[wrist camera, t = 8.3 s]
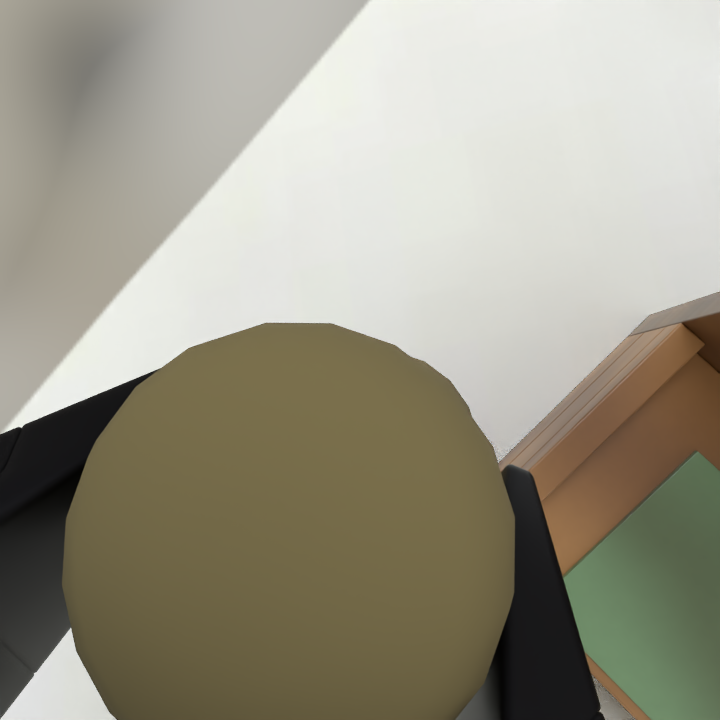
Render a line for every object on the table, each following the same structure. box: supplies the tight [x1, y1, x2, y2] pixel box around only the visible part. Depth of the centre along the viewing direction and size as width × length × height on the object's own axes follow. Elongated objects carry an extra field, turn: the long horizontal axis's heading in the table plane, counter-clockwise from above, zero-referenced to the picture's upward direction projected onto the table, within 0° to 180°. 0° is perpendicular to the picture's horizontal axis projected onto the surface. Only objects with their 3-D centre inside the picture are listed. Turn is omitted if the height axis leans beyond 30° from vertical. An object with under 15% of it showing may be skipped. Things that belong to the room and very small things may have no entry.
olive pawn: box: [62, 323, 515, 720], centre depth 10 cm, size 6×6×11 cm
